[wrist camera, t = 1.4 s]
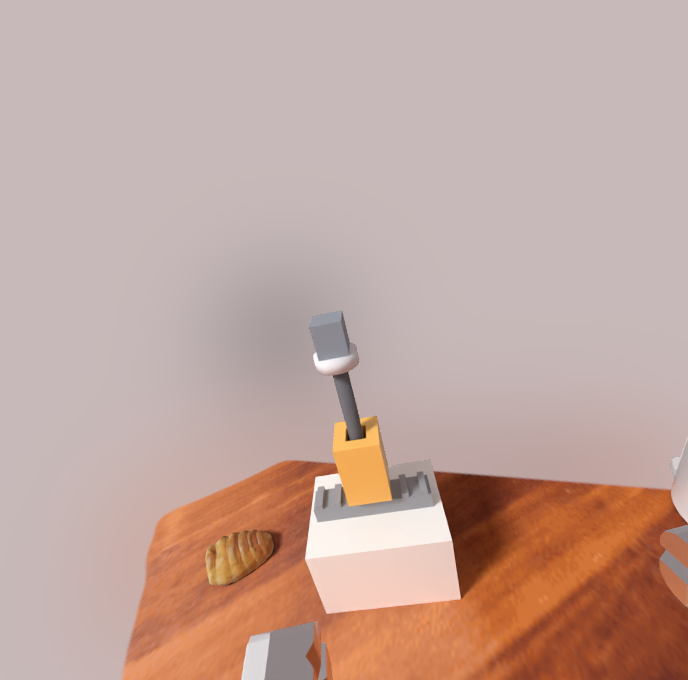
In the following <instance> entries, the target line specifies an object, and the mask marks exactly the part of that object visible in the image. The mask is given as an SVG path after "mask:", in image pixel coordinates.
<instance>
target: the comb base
mask: <svg viewBox="0 0 688 680" xmlns="http://www.w3.org/2000/svg"><path fill="white" fill-rule="evenodd" d="M388 469H389V477H390V486H391V494H392V500H391V501H384V502H377V503H370V504H363V505H356V506H348V502H347V499H346V496H345V492H344V489H343V485H342V482H341V479H340V475H339V474H333V475H326V476H319V477H316V479H315V487H314V495H313V503H312V511H311V518H310V526H309V534H308V542H307V550H306V557H305V560H306V562H307V565H308V568H309V570H310V573H311V575H312V578H313V580H314V583H315V585H316V588H317V590H318V593H319V595H320V598H321V600H322V603H323V605H324V608H325V610H326V613H327V614H329V613H338V612H347V611H356V610H366V609H375V608H384V607H393V606H402V605H412V604H421V603H430V602H439V601H448V600H458V599H461V597H460V590H459V583H458V576H457V570H456V563H455V556H454V549H453V543H452V538H451V534H450V531H449V527H448V524H447V520H446V516H445V513H444V509H443V505H442V502H441V498H440V494H439V491H438V487H437V483H436V480H435V476H434V472H433V469H432V465H431V461H430V460H424V461H418V462H411V463H405V464H398V465H392V466H388Z"/></svg>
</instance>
